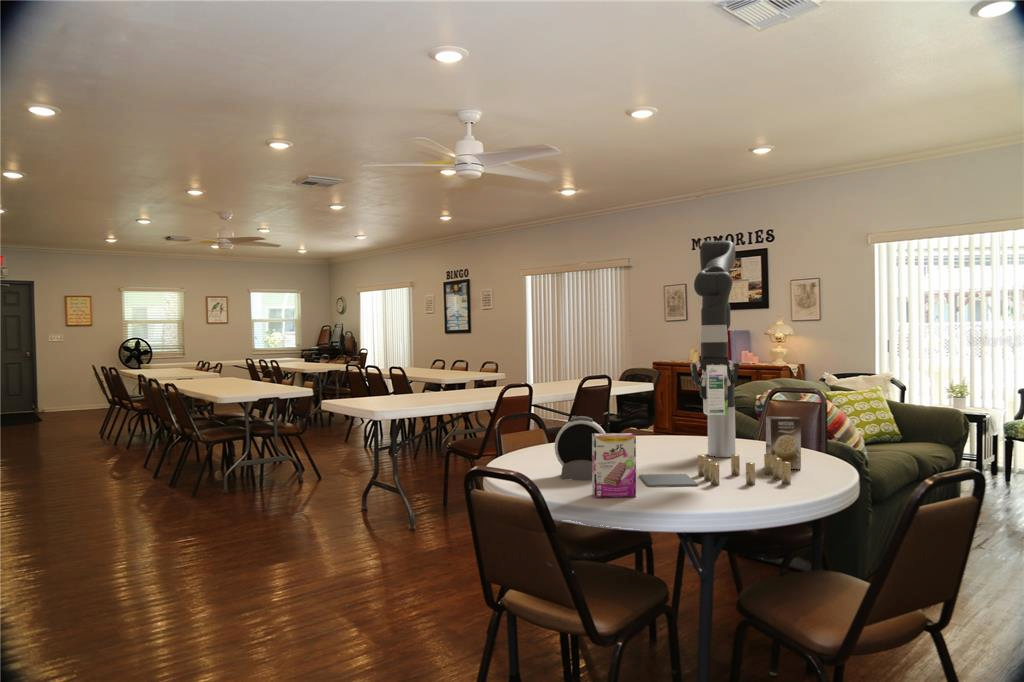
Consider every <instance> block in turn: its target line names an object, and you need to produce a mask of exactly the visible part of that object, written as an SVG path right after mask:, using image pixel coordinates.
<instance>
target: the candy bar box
mask: <svg viewBox="0 0 1024 682" xmlns="http://www.w3.org/2000/svg"><path fill="white" fill-rule="evenodd" d="M636 436H637V435H635V434H634V433H621V432H620V433H606V434H592V480H591V490H592V492H591V493H592V495H593V497H594V498H597V499H598V498H600V499H601V498H603V499H604V498H606V499H607V498H610V499H611V498H636V496H637V459H636V457H637V453H636V452H637V451H636V449H637V447H636V446H637V445H636V443H637V442H636V441H637V439H636Z"/></svg>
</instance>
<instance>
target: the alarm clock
mask: <svg viewBox="0 0 1024 682" xmlns="http://www.w3.org/2000/svg"><path fill="white" fill-rule="evenodd" d="M592 434H607V433H606V431H605V430H604V429H603V428H602V426H601V425H599V424H598V423H597V422H595V421H594V420H593V418H592V417H589V416H585V415H584V416H583V415H580V416H574V417H571V418H569V421H568V422H567V423H566V424H565V425H563V426H562V427H561V429H560V430H559V431H558V433H557V434H556V438H555V440H554V448H553V449H554V454H555V456H556V458H557V461H558V462H559V464H560V465H561V475H560V479H561V478H562V479H561V480H565V479H572V480H571V481H592Z"/></svg>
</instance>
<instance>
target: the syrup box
mask: <svg viewBox="0 0 1024 682" xmlns="http://www.w3.org/2000/svg"><path fill="white" fill-rule="evenodd" d="M701 370H702V371H701V373H702V374H703V372H704V371H703V369H702V368H701ZM706 373H707V379H706V385H705V387H706V399H702V406H703V409H702V410H703V414H704V415H706V416H708V415H709V416H710V415H728V390H727V365H707V366H706V372H704V375H705V374H706ZM702 374H701V375H702Z"/></svg>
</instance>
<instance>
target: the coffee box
mask: <svg viewBox="0 0 1024 682" xmlns="http://www.w3.org/2000/svg"><path fill="white" fill-rule="evenodd" d="M801 423H802V418H800V417H796V416H775V415H774V416H769V415H768V416H767V415H766V416H765V454H772V455H773V458H781V462H790V466H791V469H798V470H797V471H800V470H799V469H801V470H802V430H801V429H802V424H801Z"/></svg>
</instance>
